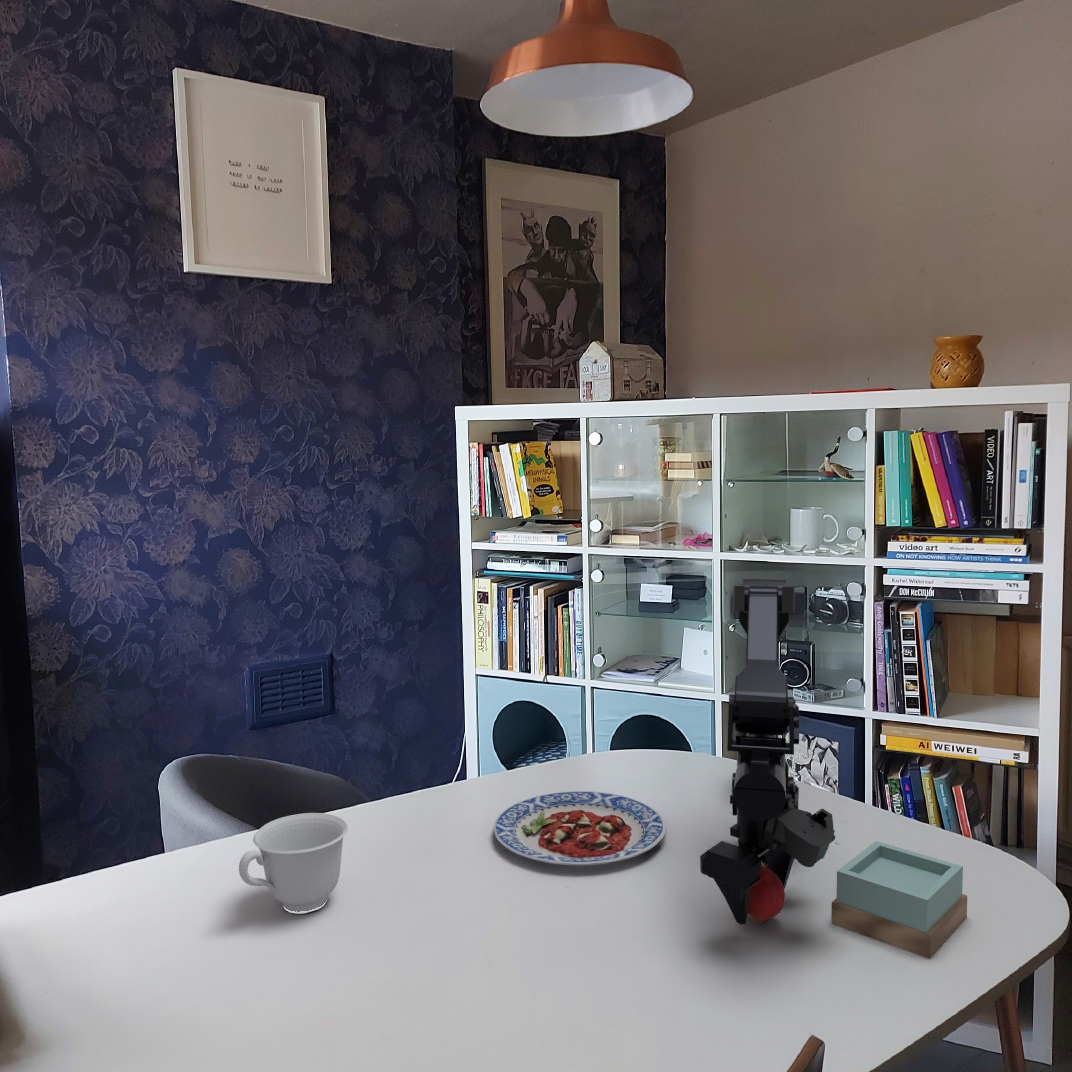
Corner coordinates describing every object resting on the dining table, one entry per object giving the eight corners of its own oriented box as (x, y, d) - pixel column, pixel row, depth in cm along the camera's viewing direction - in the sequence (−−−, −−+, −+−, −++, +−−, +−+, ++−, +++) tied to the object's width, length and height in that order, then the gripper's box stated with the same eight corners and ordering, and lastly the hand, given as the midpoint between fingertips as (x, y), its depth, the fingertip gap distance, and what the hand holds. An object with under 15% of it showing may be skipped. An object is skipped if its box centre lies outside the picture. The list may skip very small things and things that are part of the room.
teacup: (219, 915, 124) (214, 841, 122) (317, 873, 134) (313, 805, 133) (270, 948, 115) (265, 869, 114) (370, 901, 126) (366, 828, 125)
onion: (786, 913, 120) (786, 853, 119) (782, 937, 115) (783, 873, 114) (739, 907, 122) (739, 847, 121) (733, 930, 117) (733, 867, 116)
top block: (836, 901, 117) (836, 870, 117) (875, 870, 125) (875, 840, 125) (926, 933, 110) (927, 900, 109) (962, 897, 118) (962, 866, 117)
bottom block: (831, 929, 118) (831, 902, 117) (872, 892, 127) (872, 867, 126) (930, 964, 110) (930, 935, 109) (966, 922, 119) (967, 895, 118)
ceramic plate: (693, 823, 148) (693, 805, 148) (616, 895, 127) (615, 873, 126) (551, 792, 162) (550, 775, 162) (459, 852, 140) (459, 833, 140)
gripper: (784, 830, 104) (783, 965, 106) (857, 780, 118) (855, 900, 120) (697, 804, 112) (697, 931, 114) (775, 760, 125) (774, 873, 127)
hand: (760, 908), depth 118 cm, fingers open, 9 cm apart
